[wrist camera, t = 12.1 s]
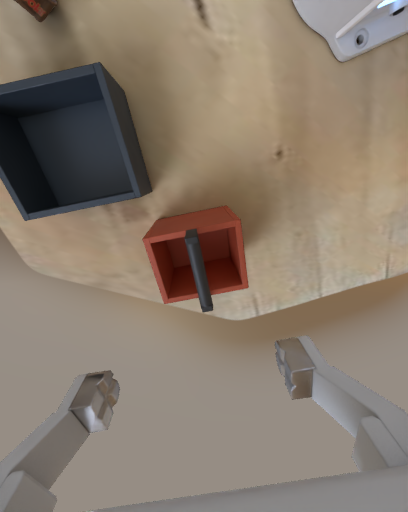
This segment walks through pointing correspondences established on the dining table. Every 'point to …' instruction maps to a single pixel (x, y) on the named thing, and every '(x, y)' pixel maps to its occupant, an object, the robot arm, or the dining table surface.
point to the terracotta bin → (197, 255)
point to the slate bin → (68, 143)
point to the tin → (38, 7)
